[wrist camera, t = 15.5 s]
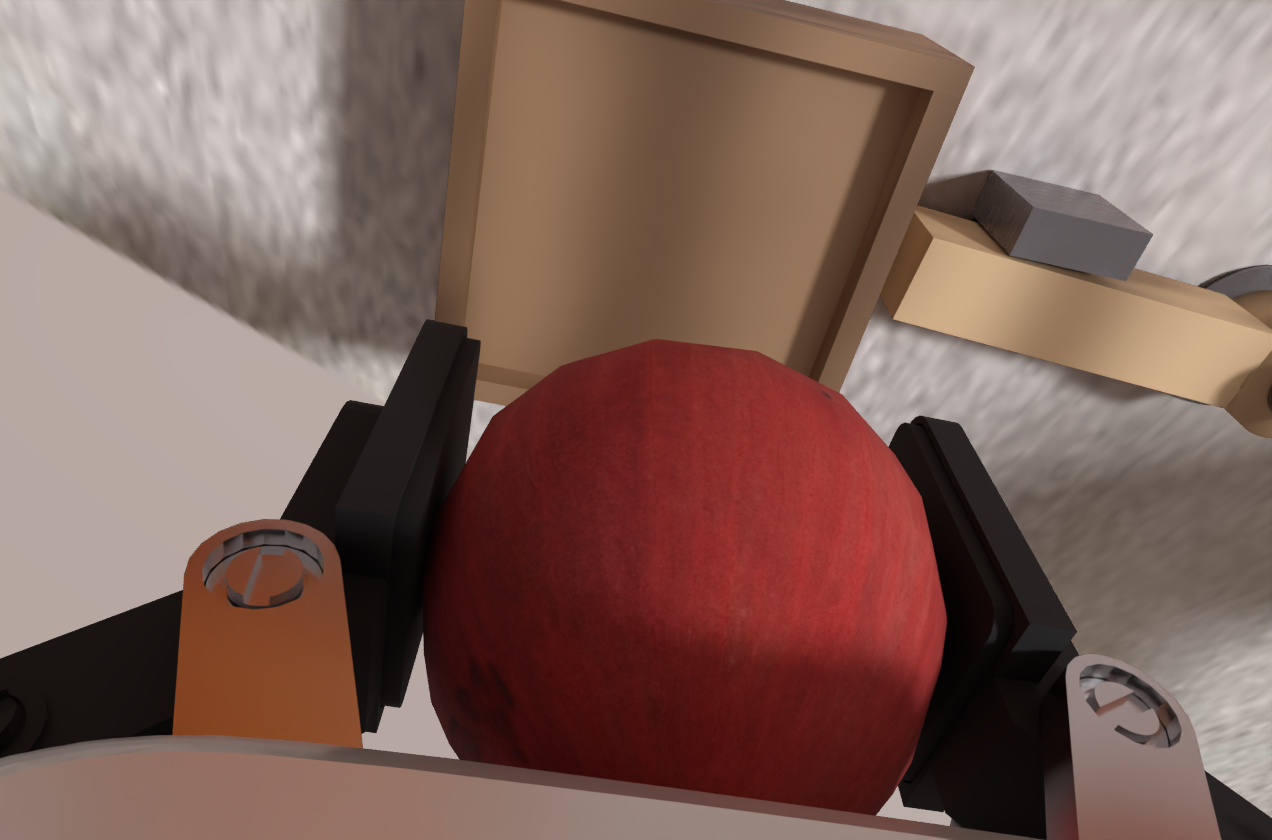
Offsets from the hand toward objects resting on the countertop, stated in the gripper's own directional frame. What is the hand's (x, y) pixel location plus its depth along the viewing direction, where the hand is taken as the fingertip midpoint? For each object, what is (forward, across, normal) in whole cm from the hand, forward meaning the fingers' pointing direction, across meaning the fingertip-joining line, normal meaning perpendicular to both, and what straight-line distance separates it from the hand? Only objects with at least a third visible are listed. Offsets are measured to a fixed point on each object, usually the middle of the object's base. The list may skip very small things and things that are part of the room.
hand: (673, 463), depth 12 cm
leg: (+12, -12, 0) cm, 17 cm away
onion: (+1, 0, 0) cm, 1 cm away
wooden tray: (+12, 0, 0) cm, 12 cm away
